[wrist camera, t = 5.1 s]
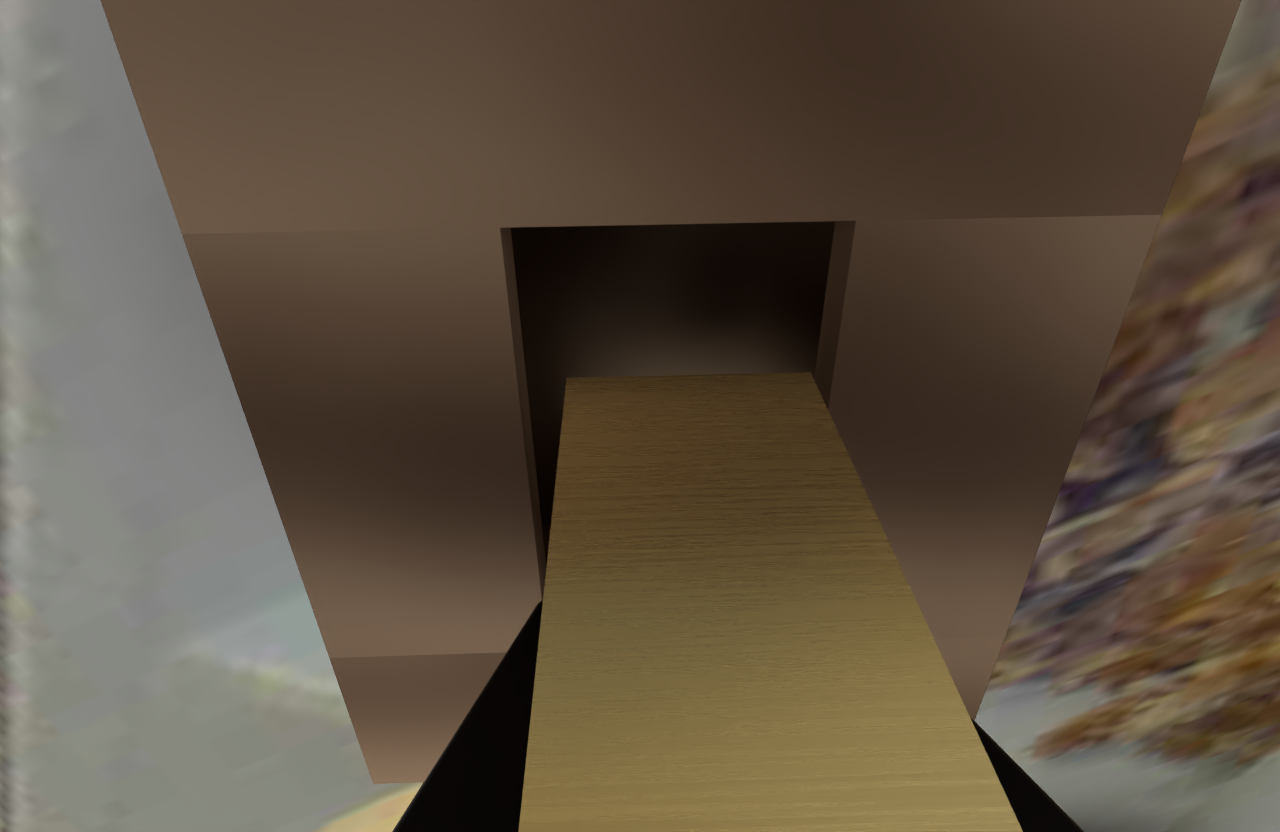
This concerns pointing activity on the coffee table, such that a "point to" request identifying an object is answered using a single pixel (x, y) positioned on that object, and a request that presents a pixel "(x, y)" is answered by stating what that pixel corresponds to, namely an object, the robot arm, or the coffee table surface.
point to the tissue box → (653, 271)
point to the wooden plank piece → (734, 629)
